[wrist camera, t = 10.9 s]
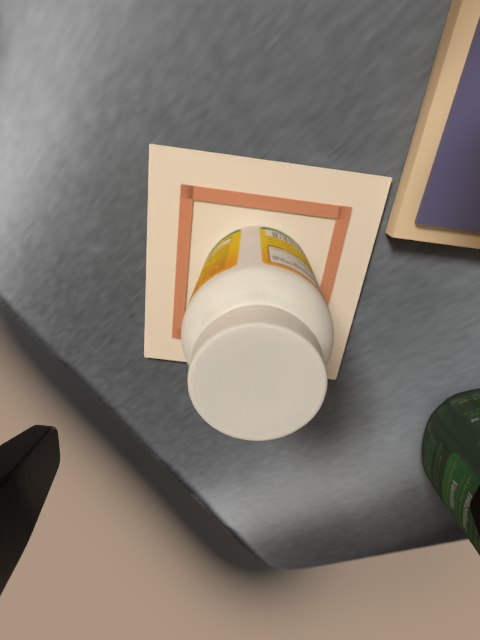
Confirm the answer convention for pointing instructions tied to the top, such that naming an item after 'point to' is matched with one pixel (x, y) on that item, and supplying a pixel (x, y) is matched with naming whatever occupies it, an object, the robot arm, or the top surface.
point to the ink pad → (446, 143)
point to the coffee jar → (455, 456)
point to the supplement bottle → (257, 336)
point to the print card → (248, 210)
